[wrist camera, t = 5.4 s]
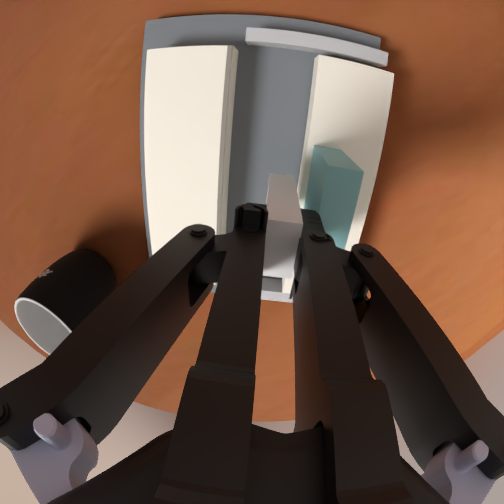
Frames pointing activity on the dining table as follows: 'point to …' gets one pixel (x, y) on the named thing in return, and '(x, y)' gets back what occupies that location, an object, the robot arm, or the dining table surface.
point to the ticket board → (255, 96)
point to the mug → (63, 297)
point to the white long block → (343, 146)
